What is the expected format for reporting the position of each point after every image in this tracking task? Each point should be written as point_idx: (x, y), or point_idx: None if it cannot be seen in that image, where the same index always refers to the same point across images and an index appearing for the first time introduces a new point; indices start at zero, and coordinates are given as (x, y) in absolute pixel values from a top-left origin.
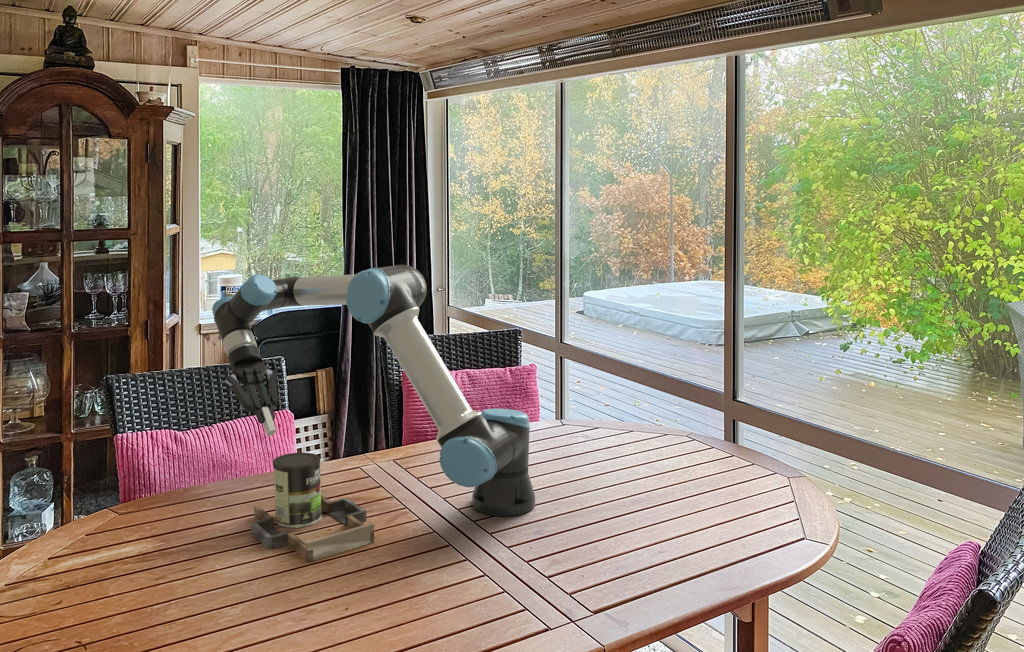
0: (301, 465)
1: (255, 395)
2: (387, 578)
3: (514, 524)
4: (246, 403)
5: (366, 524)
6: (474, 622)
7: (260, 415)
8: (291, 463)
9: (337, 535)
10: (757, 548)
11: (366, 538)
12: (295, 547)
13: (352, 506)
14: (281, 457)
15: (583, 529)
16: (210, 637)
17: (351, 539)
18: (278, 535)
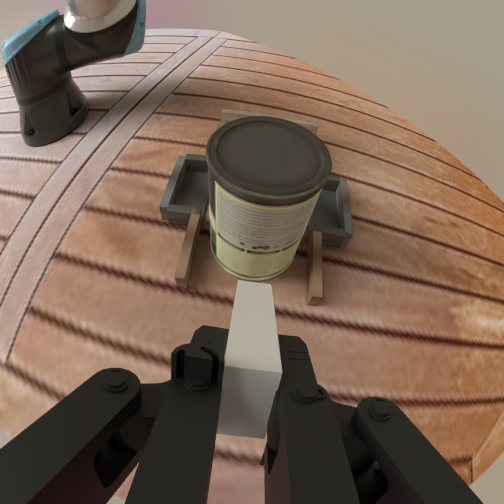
0: (278, 127)
1: (317, 498)
2: (264, 90)
3: (99, 93)
4: (410, 430)
5: (229, 112)
6: (256, 52)
7: (296, 357)
8: (291, 145)
9: (276, 116)
10: None
11: None
12: None
13: (177, 182)
14: (292, 188)
15: (87, 73)
16: (414, 128)
17: None
18: (331, 176)
